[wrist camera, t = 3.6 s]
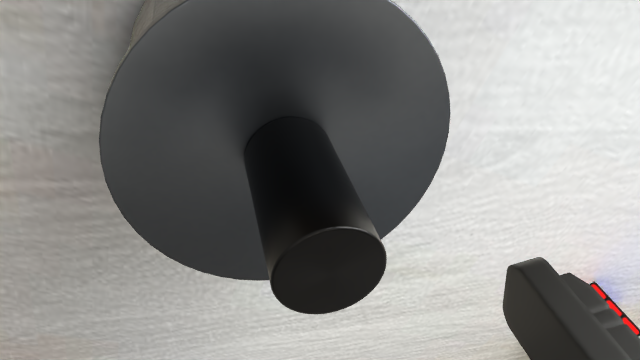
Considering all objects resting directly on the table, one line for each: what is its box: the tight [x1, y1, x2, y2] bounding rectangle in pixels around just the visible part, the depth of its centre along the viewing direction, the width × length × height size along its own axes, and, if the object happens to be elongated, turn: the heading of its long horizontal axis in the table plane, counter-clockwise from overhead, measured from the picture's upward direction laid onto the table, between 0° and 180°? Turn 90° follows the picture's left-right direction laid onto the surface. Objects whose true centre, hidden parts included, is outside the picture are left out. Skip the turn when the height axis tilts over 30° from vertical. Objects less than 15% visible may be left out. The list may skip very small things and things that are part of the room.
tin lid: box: [99, 0, 450, 314], centre depth 16 cm, size 13×13×7 cm
